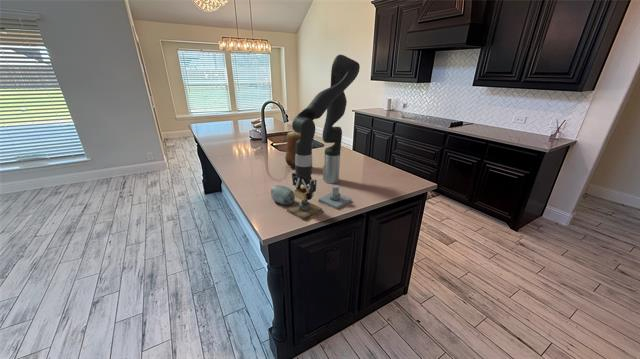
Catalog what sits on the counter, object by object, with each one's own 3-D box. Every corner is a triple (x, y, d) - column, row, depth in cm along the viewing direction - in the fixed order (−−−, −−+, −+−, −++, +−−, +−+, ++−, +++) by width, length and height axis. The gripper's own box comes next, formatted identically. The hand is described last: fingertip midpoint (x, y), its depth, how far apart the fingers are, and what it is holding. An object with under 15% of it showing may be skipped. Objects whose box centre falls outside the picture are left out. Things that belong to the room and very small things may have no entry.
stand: (286, 211, 120) (286, 195, 117) (304, 202, 128) (304, 187, 125) (304, 220, 112) (304, 203, 109) (322, 211, 121) (322, 195, 117)
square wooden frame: (294, 196, 117) (294, 190, 116) (304, 192, 122) (304, 186, 121) (303, 200, 113) (303, 194, 112) (313, 196, 118) (313, 190, 117)
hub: (318, 201, 130) (318, 186, 127) (333, 194, 138) (333, 179, 135) (336, 209, 122) (337, 193, 119) (351, 201, 131) (352, 186, 127)
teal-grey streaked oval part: (301, 196, 127) (291, 182, 122) (289, 210, 123) (278, 196, 118) (286, 194, 137) (275, 180, 132) (274, 206, 133) (263, 193, 128)
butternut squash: (306, 164, 183) (306, 130, 173) (303, 171, 171) (303, 134, 161) (287, 163, 184) (286, 129, 175) (283, 170, 172) (282, 133, 162)
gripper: (286, 161, 113) (287, 194, 120) (309, 169, 104) (309, 205, 111) (298, 157, 118) (299, 189, 125) (321, 165, 109) (320, 199, 116)
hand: (304, 196), depth 118 cm, fingers closed on square wooden frame, 6 cm apart
